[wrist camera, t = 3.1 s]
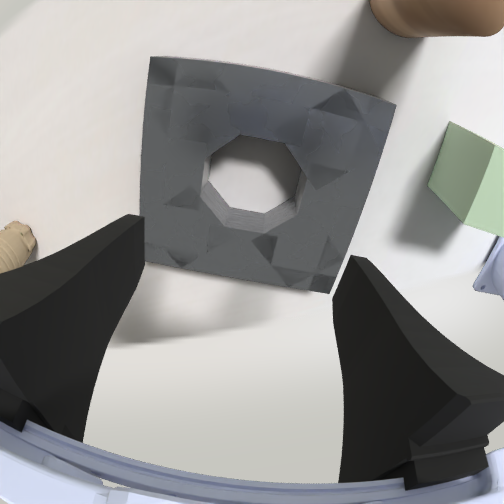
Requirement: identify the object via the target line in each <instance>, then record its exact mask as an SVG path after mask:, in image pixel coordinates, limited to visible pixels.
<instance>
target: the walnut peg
mask: <svg viewBox="0 0 504 504" xmlns="http://www.w3.org/2000/svg"><path fill="white" fill-rule="evenodd" d="M369 1H370V6H371V10H372V12H373V14H374V16H375V17H376V19H377V20H378V22H379V23H380V24H381V25H382V26H383V27H384V28H386V29H387V30H388V31H390V32H392V33H393V34H395V35H398V36H401V37H405V38H417V37H437V36H481V37H486V36H491V35H494V34H496V33H498V32H499V31H500V30H501V29H502V28H503V26H504V0H369Z"/></svg>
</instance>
